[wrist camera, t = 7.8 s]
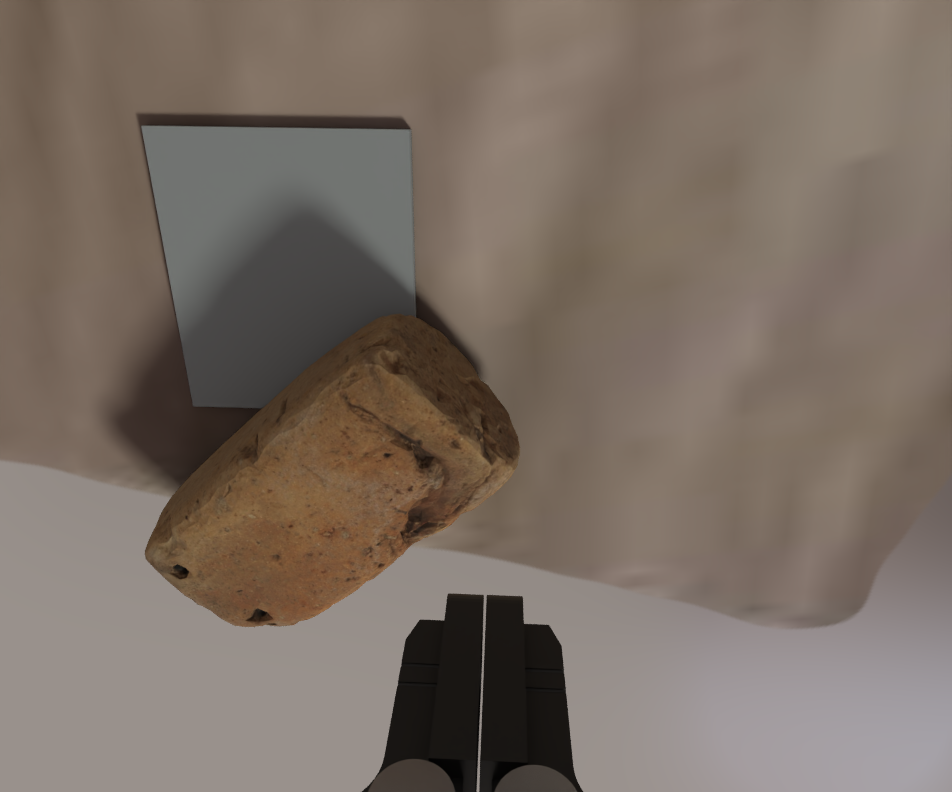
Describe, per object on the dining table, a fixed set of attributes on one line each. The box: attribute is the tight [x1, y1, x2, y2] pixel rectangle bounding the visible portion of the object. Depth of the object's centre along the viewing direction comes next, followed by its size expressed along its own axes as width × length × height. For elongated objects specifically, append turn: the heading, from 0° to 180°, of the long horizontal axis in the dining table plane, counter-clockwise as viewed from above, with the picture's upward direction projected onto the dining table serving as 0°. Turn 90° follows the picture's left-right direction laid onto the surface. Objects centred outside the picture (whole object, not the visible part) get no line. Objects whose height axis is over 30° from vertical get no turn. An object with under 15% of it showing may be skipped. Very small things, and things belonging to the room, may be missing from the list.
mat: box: [141, 125, 416, 408], centre depth 35 cm, size 15×13×1 cm
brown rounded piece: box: [145, 314, 520, 627], centre depth 36 cm, size 11×8×20 cm
